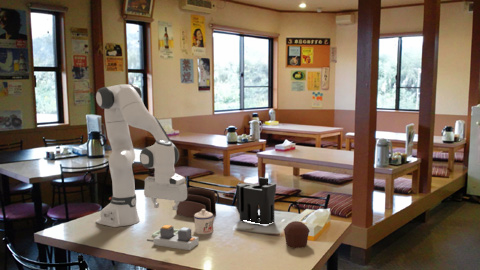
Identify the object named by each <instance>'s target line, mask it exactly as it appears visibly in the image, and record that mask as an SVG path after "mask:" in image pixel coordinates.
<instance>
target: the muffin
mask: <svg viewBox="0 0 480 270" xmlns="http://www.w3.org/2000/svg"><path fill="white" fill-rule="evenodd" d="M310 231H311V230H310V229H309V227H308V226H307V224H305V223H303V222H302V221H297V220H295V221H291V222H289V223H288V224H286V226H285V227H284V228H283V233H284V237H285V244H286V246H287V247H288V248H292V249H302V248H305V247H307V245H308V240H309V239H308V238H309V233H310Z"/></svg>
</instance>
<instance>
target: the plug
mask: <svg viewBox="0 0 480 270" xmlns="http://www.w3.org/2000/svg"><path fill="white" fill-rule="evenodd" d="M174 229H175V228H174V226H172V225H171V224H170V225H169V224H165V225H163V226H161V227H160V229H159V230H160V233H159V235H161V238H163V239H171V238H172V237H174V233H175V232H174Z"/></svg>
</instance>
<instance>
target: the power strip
mask: <svg viewBox="0 0 480 270" xmlns="http://www.w3.org/2000/svg"><path fill="white" fill-rule="evenodd" d="M191 237H192V238H191V239H190V241H188V242H184V241H178V234H174V237H172V238H171V239H163V238H161V235H160V234H159V235H158V236H156V237H154V238H153V237H152V238H153V239H150V238H149V239H146V241H147V242H153V246H159V247H166V248H172V249H178V250H184V251H191V250H193V249H194V248H195V247H196V246H198V245H199V244H200V243H199V241H200V240H199V236H193V235H191Z"/></svg>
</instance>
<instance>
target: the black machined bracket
mask: <svg viewBox="0 0 480 270" xmlns="http://www.w3.org/2000/svg"><path fill="white" fill-rule="evenodd" d="M235 191H236V192H235V193H236V194H235V196H236V198H235V199H236V210H237V212H238V214H239V221H240V222H241V221H243V220H247V221H251V222H255V223H260V224H269V223H272V222H274V223H275V196H276V192H277V182H270V183H269V178H268V177H262V176H259V177H258V183H248V182H247V183H238V184H236V185H235ZM258 218H260V220H259V219H258ZM250 219H251V220H250Z"/></svg>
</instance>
